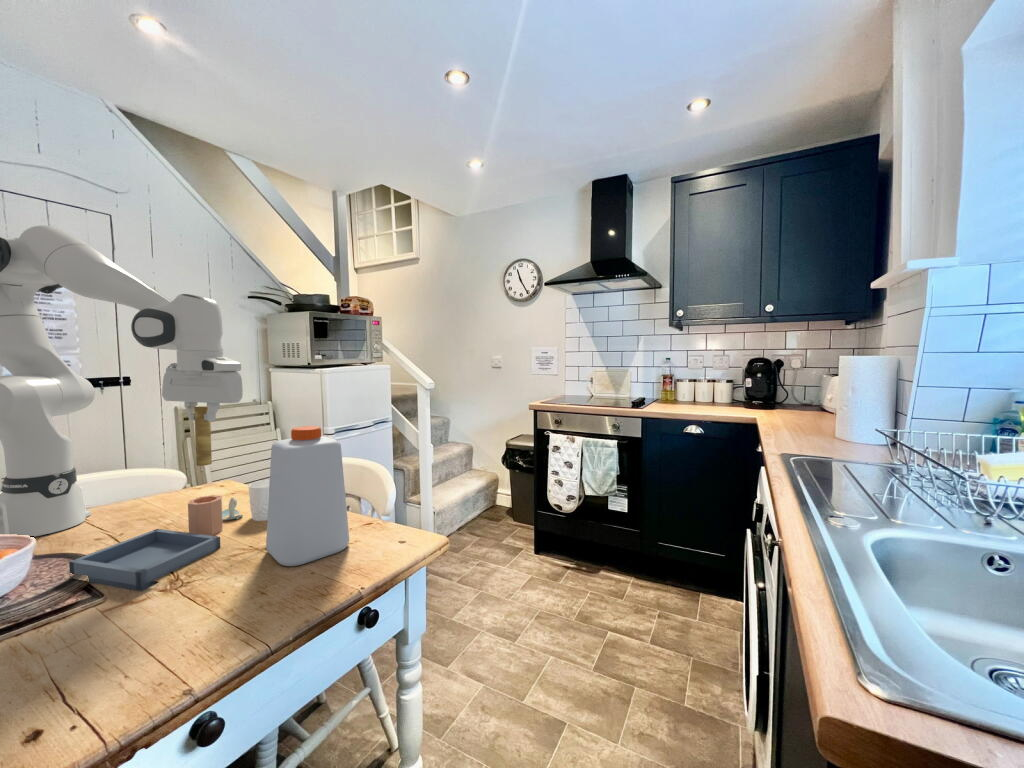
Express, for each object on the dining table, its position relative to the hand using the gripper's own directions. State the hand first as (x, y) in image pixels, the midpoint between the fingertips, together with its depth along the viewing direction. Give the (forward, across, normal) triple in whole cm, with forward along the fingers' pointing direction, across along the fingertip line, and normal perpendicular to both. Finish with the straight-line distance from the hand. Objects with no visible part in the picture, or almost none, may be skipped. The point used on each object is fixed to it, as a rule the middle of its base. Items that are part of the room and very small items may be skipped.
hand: (202, 420), depth 97 cm
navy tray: (+28, +2, -14) cm, 32 cm away
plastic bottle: (+28, +29, 0) cm, 41 cm away
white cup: (+29, +6, +12) cm, 32 cm away
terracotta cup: (+28, 0, 0) cm, 28 cm away
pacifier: (+29, -3, +8) cm, 30 cm away
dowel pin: (+11, 0, 0) cm, 11 cm away
